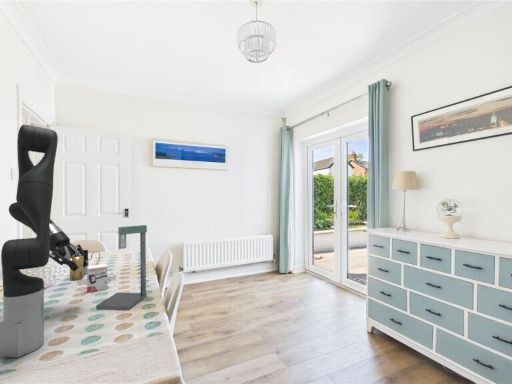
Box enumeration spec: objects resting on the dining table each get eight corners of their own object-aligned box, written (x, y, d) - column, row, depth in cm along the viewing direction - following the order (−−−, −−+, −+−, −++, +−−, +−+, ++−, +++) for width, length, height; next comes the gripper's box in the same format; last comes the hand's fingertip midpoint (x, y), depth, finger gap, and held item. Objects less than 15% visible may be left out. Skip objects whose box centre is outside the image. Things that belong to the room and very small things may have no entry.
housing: (77, 281, 101) (77, 254, 101) (66, 280, 101) (67, 254, 101) (86, 277, 105) (86, 252, 105) (75, 277, 106) (75, 252, 106)
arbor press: (131, 310, 104) (130, 229, 104) (96, 309, 105) (95, 229, 105) (149, 295, 119) (149, 225, 119) (118, 295, 120) (118, 225, 120)
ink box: (87, 293, 123) (87, 268, 123) (87, 290, 127) (87, 266, 127) (107, 289, 128) (107, 265, 128) (107, 286, 132) (107, 263, 132)
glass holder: (69, 277, 147) (69, 251, 147) (98, 272, 156) (98, 247, 156) (71, 281, 140) (71, 253, 140) (101, 275, 149) (101, 249, 150)
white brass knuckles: (117, 275, 152) (114, 282, 139) (80, 279, 145) (74, 287, 131) (117, 269, 152) (114, 276, 139) (80, 273, 145) (74, 281, 131)
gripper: (43, 233, 97) (73, 266, 96) (73, 228, 111) (100, 256, 110) (30, 247, 97) (60, 280, 96) (61, 240, 112) (88, 269, 111)
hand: (81, 267), depth 103 cm, fingers closed on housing, 4 cm apart
